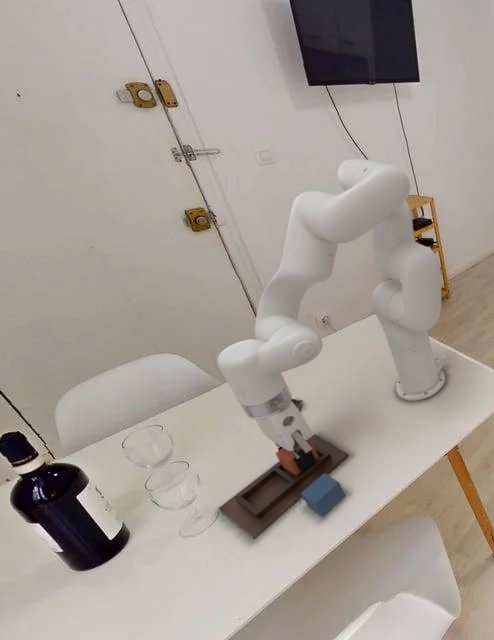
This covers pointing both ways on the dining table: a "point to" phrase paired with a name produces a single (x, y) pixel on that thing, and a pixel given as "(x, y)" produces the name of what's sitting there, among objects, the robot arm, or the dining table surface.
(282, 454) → the orange-brown block
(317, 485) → the blue block
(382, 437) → the dining table surface
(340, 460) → the dark brown flat tray
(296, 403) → the arrowhead
